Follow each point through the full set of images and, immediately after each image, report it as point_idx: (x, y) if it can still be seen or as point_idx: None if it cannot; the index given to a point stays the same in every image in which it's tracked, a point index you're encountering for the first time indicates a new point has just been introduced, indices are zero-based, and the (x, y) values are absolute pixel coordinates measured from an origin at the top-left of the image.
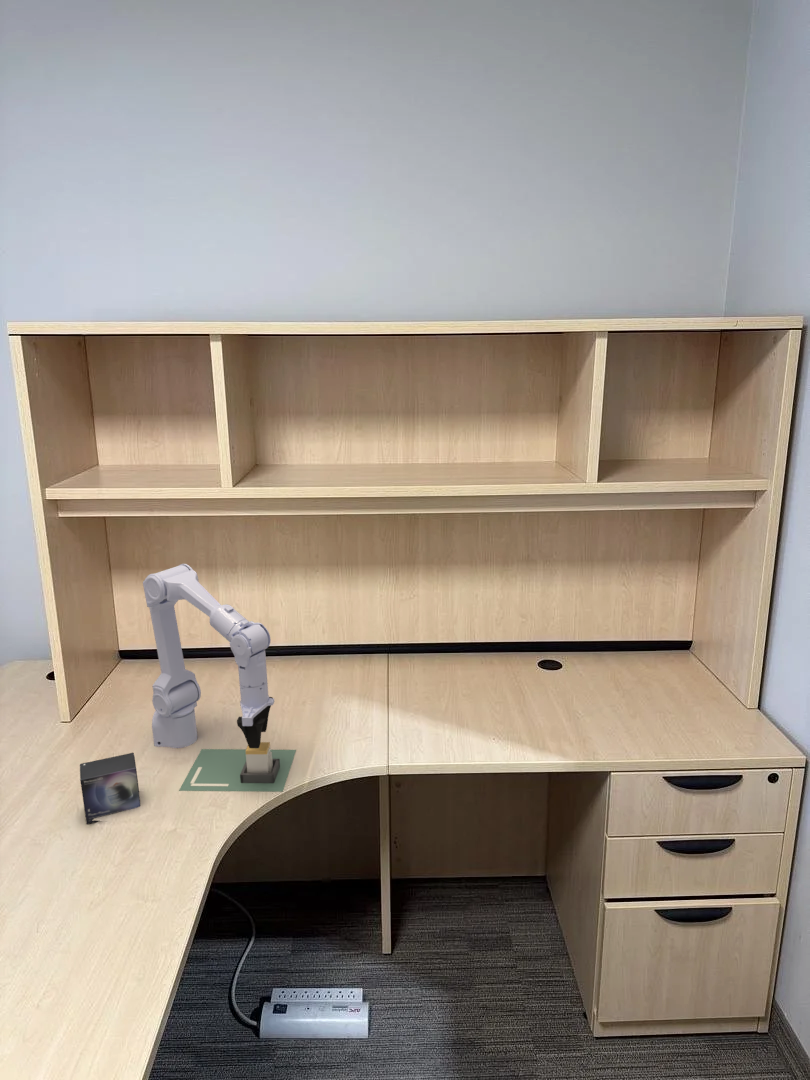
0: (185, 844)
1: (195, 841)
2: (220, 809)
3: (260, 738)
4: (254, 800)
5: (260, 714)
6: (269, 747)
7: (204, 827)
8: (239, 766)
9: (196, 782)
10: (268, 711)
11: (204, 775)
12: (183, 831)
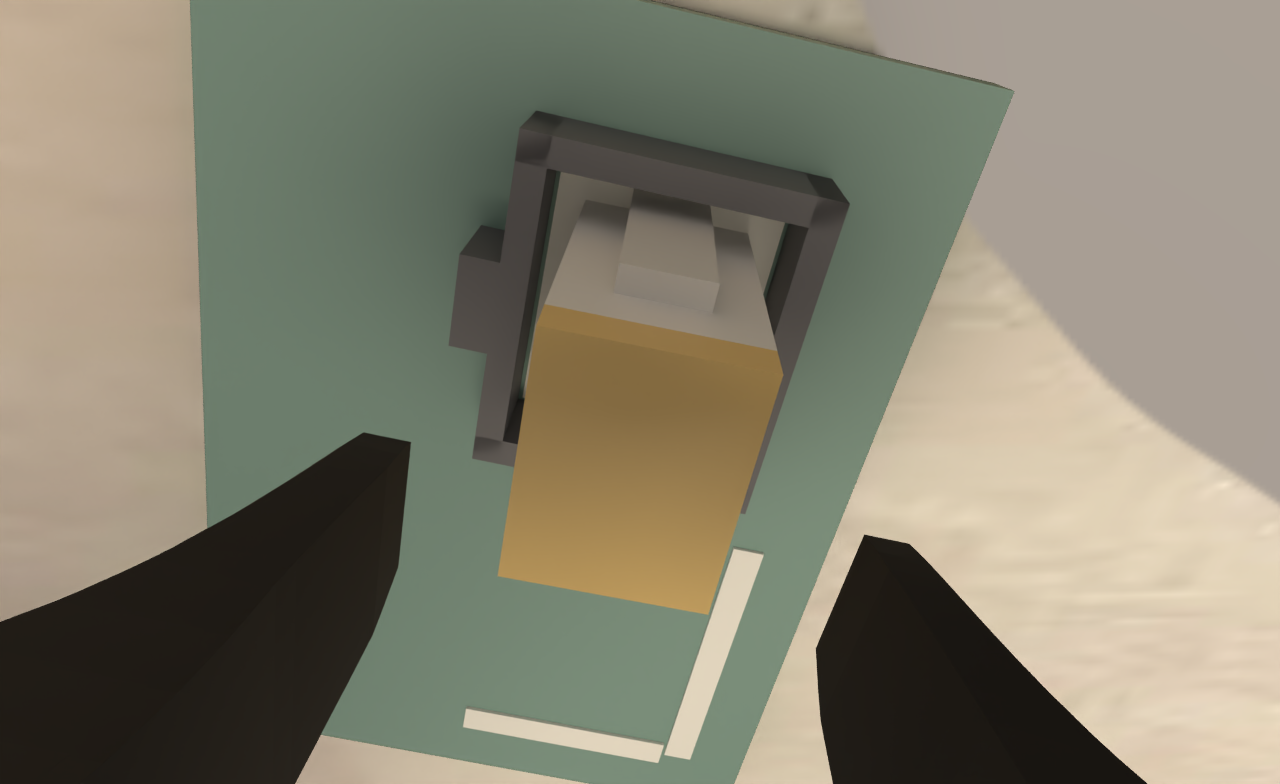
0: (1256, 729)
1: (1259, 685)
2: (970, 567)
3: (964, 637)
4: (950, 341)
5: (239, 777)
6: (591, 311)
7: (1135, 647)
8: (483, 476)
9: (654, 730)
10: (178, 692)
11: (573, 691)
12: (1115, 742)
